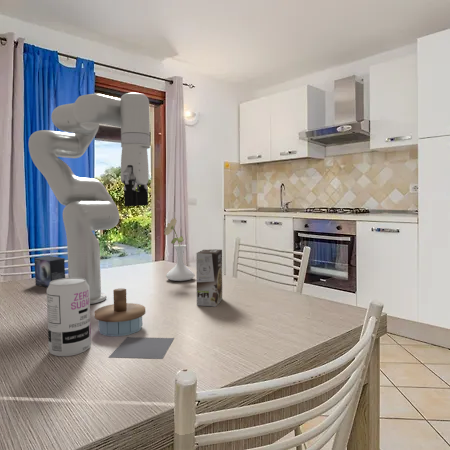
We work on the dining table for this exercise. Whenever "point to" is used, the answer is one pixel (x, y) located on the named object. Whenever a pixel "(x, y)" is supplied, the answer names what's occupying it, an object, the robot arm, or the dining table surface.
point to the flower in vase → (178, 258)
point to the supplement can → (68, 316)
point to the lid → (119, 309)
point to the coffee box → (209, 277)
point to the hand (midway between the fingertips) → (136, 205)
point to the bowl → (120, 327)
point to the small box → (48, 270)
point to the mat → (142, 348)
